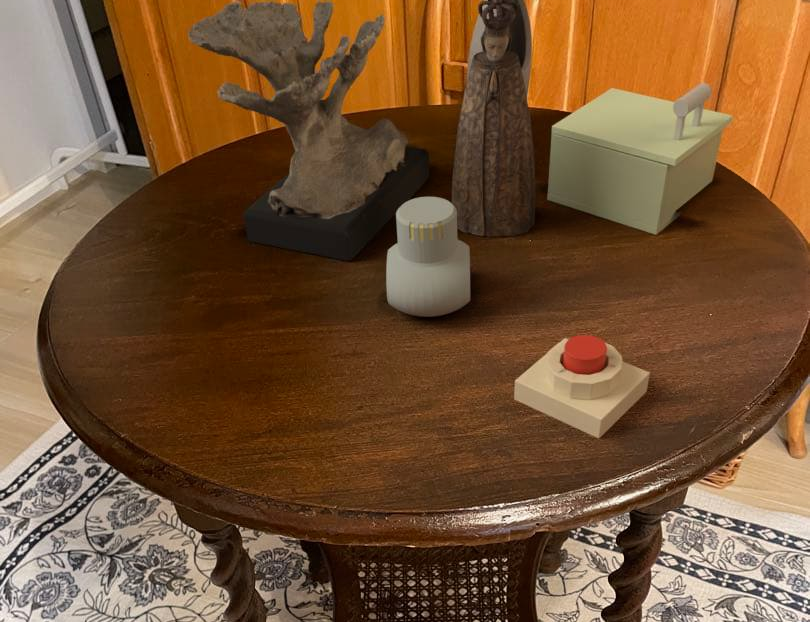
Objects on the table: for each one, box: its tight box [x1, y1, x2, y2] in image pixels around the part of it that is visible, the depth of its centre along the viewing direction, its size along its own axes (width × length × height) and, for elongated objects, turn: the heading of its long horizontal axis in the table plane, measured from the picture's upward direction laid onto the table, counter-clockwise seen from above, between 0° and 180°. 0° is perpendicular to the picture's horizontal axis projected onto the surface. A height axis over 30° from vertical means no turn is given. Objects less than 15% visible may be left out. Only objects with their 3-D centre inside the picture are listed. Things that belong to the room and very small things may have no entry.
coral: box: [188, 0, 430, 262], centre depth 97 cm, size 25×20×22 cm
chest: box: [546, 129, 724, 236], centre depth 100 cm, size 15×13×8 cm
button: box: [563, 334, 607, 375], centre depth 75 cm, size 4×4×2 cm
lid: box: [551, 82, 734, 166], centre depth 95 cm, size 15×13×5 cm
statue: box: [451, 0, 536, 238], centre depth 90 cm, size 9×8×25 cm
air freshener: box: [385, 196, 471, 318], centre depth 86 cm, size 11×8×10 cm
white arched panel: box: [465, 0, 533, 96], centre depth 105 cm, size 18×7×19 cm, turn 164°
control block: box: [513, 337, 651, 439], centre depth 77 cm, size 9×8×4 cm
